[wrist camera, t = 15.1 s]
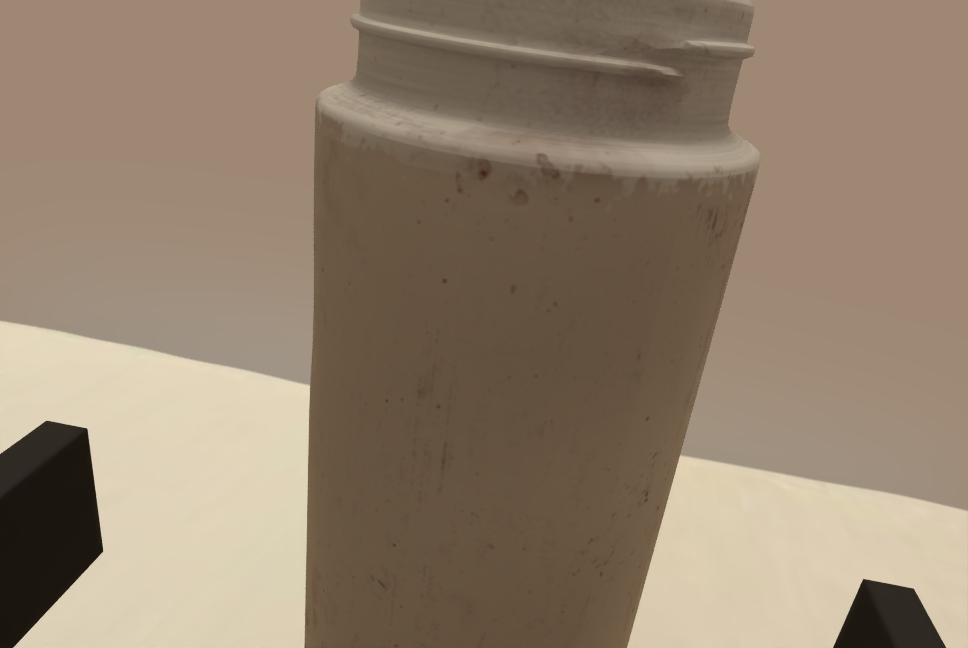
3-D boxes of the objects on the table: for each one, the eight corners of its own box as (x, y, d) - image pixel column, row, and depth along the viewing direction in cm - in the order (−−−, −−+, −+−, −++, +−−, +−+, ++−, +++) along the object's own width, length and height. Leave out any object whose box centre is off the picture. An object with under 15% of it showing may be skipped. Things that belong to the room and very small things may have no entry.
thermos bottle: (313, 734, 25) (342, -241, 14) (534, 728, 26) (729, -173, 15) (281, 1031, 18) (285, -494, 7) (586, 1004, 19) (1038, -324, 8)
